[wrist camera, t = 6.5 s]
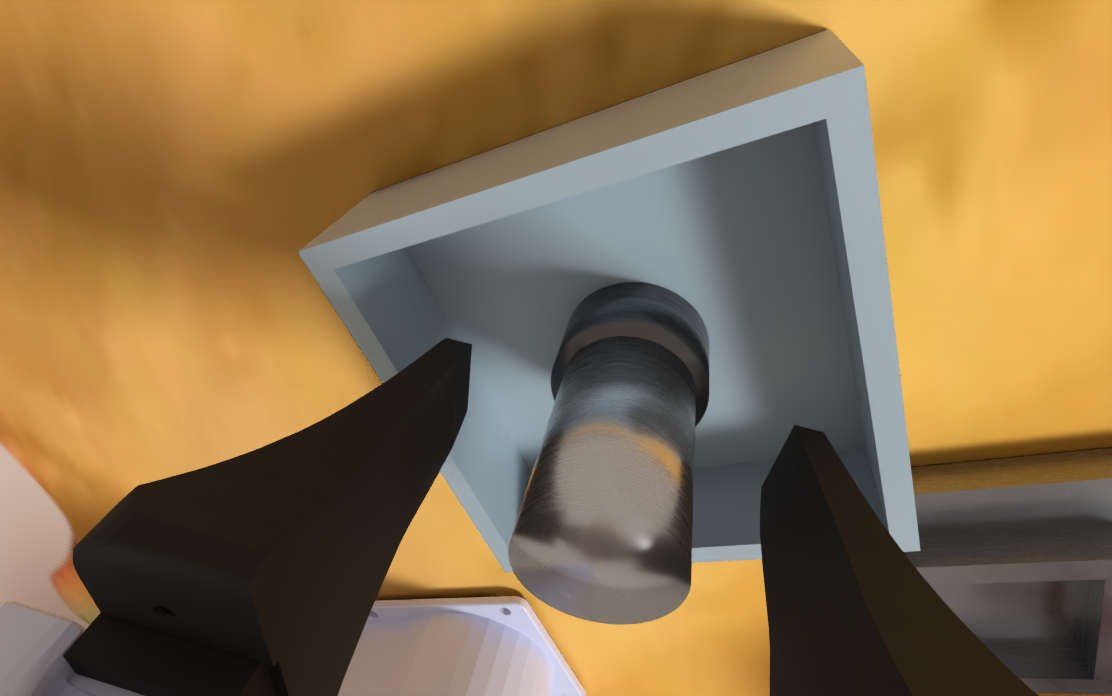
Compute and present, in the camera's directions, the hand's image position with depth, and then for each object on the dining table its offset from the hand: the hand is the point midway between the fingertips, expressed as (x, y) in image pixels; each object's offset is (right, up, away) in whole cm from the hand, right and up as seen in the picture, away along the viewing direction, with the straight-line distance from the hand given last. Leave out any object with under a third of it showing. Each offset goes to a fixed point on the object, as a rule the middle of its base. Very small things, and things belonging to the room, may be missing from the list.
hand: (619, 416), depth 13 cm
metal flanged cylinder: (+1, +2, +3) cm, 3 cm away
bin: (+1, +2, +3) cm, 4 cm away
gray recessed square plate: (+12, -6, +6) cm, 14 cm away
